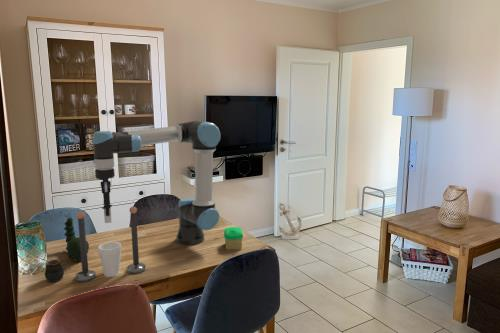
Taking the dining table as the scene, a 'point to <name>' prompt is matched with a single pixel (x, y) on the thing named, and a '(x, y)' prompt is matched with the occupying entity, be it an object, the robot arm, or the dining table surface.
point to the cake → (233, 238)
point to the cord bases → (92, 274)
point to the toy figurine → (73, 241)
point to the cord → (134, 236)
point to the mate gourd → (54, 270)
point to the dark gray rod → (82, 242)
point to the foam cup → (110, 258)
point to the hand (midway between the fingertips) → (108, 222)
